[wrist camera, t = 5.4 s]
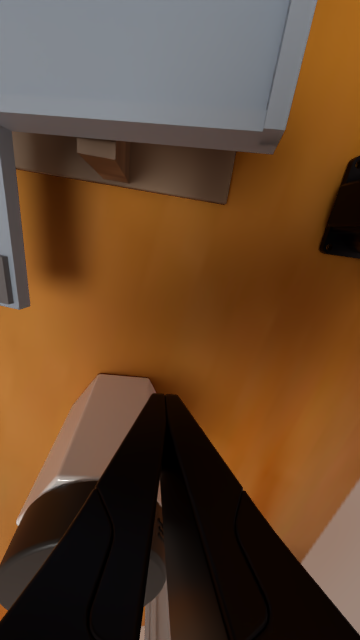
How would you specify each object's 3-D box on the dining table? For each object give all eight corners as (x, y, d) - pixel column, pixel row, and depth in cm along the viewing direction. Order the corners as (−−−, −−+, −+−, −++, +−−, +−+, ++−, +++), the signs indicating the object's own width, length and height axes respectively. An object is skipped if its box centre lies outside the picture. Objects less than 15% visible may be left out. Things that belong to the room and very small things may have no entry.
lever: (317, -34, 6) (350, -137, 5) (226, 348, 11) (226, 368, 9) (-73, -24, 8) (-152, -93, 7) (-15, 296, 13) (-54, 304, 11)
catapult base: (243, 98, 14) (296, 17, 9) (224, 204, 16) (256, 191, 11) (-23, 33, 12) (-166, -125, 7) (-5, 165, 14) (-103, 125, 9)
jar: (128, 451, 24) (104, 638, 13) (59, 418, 22) (-45, 615, 11) (182, 397, 22) (207, 564, 11) (111, 354, 20) (53, 514, 9)
